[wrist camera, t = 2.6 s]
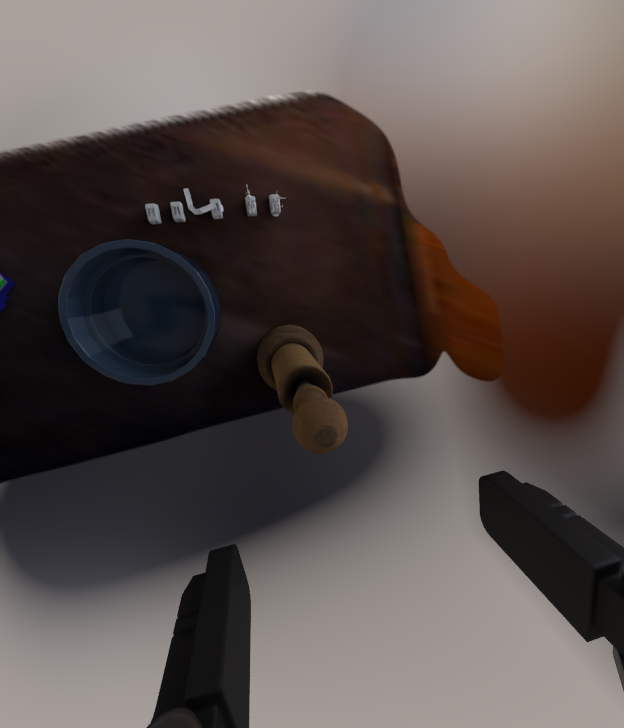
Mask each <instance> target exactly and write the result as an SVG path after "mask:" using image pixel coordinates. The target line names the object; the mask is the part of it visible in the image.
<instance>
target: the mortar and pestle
mask: <svg viewBox="0 0 624 728" xmlns="http://www.w3.org/2000/svg"><path fill="white" fill-rule="evenodd" d="M257 361H258V368H259V371H260V374H261V376H262V378H263V379H264V381H265V382H266V383H267V384H268V385H269V386H270V387H272V388H273V389H275V390H277V392H278V397H279V400H280V403H281V404H282V406H283V407H284V408H285V409H286V410H287V411H288V412H289V413H291V414H293V415H294V418H293V424H292V427H293V432H294V436H295V438H296V440H297V441H298V442H299V444H300V445H302V447H303V448H305V449H306V450H308V451H311V452H313V453H320V454H321V453H328V452H330V451H333V450H334V449H336V448H337V447H339V446H340V444H341V443H342V442H343V441H344V439H345V437H346V433H347V429H348V421H347V417H346V414H345V412H344V410H343V408H342V407H341V406H340V405H339V404H338V403H337V402H336V401H334V400H332V399H331V397H332V393H333V387H332V383H331V380H330V378H329V377H328V375H327V374H326V373H325V371H324V370H323V369H322V367H323V352H322V348H321V346H320V344H319V342H318V341H317V339H316V338H315V337H314V336H313V335H312V334H311V333H310V332H309V331H307V330H306V329H304V328H302V327H299V326H296V325H283V326H279V327H277V328H275V329H273V330H271V331H270V332H269V333H268V334H267V335H266V336H265V337H264V338H263V339H262V341H261V343H260V345H259V348H258V353H257Z"/></svg>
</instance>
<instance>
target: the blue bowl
mask: <svg viewBox="0 0 624 728" xmlns="http://www.w3.org/2000/svg"><path fill="white" fill-rule="evenodd" d="M58 295H59V296H58V307H59V319H60V323H61V325H62V328H63V330H64V333H65V335H66V338H67V340H68V342H69V344H70V345H71V346H72V347H73V349H74V350H75V351H76V352H77V354H78V355H79V356H80V357H81V358H82V360H83V361H84V362H85V363H87V364H88V365H90V366H91V367H92V368H94V369H95V370H97V371H98V372H100V373H101V374H102V375H105V376H106V377H109V378H112V379H115V380H118V381H120V382H123V383H126V384H136V385H156V384H161V383H165V382H170V381H173V380H175V379H177V378H179V377H181V376H182V375H184V374H186V373H188V372H189V371H191V370H192V369H193V368H194V367H195V366H196V365H197V364H198V363H199V362H200V361H201V359H202V358H203V357H204V356H205V355H206V353H207V352H208V350H209V349H210V347H211V346H212V344H213V342H214V340H215V338H216V335H217V333H218V331H219V328H220V320H221V306H220V302H219V298H218V294H217V290H216V288H215V286H214V285H213V283H212V282H211V280H210V278H209V277H208V275H207V273H206V272H205V271H204V270H203V269H202V268H201V267H199V266H198V265H197V264H196V263H195V262H194V261H193V260H192V259H190V258H189V257H187V256H185V255H183V254H181V253H178V252H176V251H174V250H172V249H170V248H167V247H164V246H162V245H159V244H156V243H153V242H147V241H140V240H134V239H123V240H117V241H111V242H104V243H101V244H100V245H98V246H96V247H94V248H92V249H90V250H89V251H87V252H85V253H83V254H82V255H80V256H79V258H78V259H77V260H76V261H75V262H74V264H73V265H72V266H71V267H70V268H69V269H68V271H67V272H66V274H65V276H64V279H63V282H62V285H61V288H60V291H59V294H58Z"/></svg>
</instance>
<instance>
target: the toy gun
mask: <svg viewBox="0 0 624 728" xmlns="http://www.w3.org/2000/svg"><path fill="white" fill-rule="evenodd" d="M14 285H15V283H14V282H13V281H12V279H11V278H8V277H5V276H3V275H2V274H1V273H0V312H1V311H2V309H3V308H4V307H5V302H6V301H7V299H8V297H7V296H6V295H7V294H8V292H9V291H10V290H11V289H12V287H13V286H14ZM0 398H1V396H0Z"/></svg>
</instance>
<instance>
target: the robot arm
mask: <svg viewBox="0 0 624 728" xmlns="http://www.w3.org/2000/svg"><path fill="white" fill-rule="evenodd" d="M479 498H480V499H479V501H480V517H481V521H482V523H483V525H484V528H485V529H486V531H487V533H488V534H489V535H490V536H491V538H492V539H493V540H494V541H495V542H496V543H497V544H498V545H499V546H500V547H501V548H502V550H503V551H504V552H505V553H506V554H507V555H508V556H509V557H510V558H511V559H512V560H513V562H514V563H515V564H516V565H517V566H518V567H519V568H520V569H521V570H522V571H523V572H524V574H525V575H526V576H527V577H528V578H529V579H530V580H531V581H532V582H533V583H534V584H535V586H536V587H537V588H538V589H539V590H540V591H541V592H542V593H543V594H544V595H545V597H546V598H547V599H548V600H549V601H550V602H551V603H552V604H553V605H554V606H555V607H556V608H557V610H558V611H559V612H560V613H561V614H562V615H563V616H564V617H565V618H566V619H567V621H569V623H570V624H571V625H572V626H573V627H574V628H575V629H576V630H577V632H578V633H579V634H580V635H581V636H582V637H583V638H584V639H585V640H586V641H587V642H589V641H592V640H595V639H598V638H600V637H603V636H604V637H605V638H606V639H607V640H608V641H609V642H610V643H611V644H612V645H613V655H614V660H615V663H616V667H617V670H618V673H619V677H620V680H621V683H622V687H623V690H624V548H623V547H622V546H621V545H619V544H618V543H617V542H615V541H614V540H613V539H611V538H610V537H608V536H607V535H606V534H604V533H603V532H602V531H600V530H599V529H597V528H596V527H595V526H593V525H592V524H591V523H589V522H588V521H586V520H585V519H584V518H582V517H581V516H579V515H578V516H577V515H576V513H575V512H574V511H573V510H571V509H570V508H569V507H567V506H566V505H563V504H562V502H560V501H559V500H558V499H556V498H555V497H554V496H552V495H551V494H549V493H548V492H547V491H545V490H542V489H540V488H538V487H536V486H533V485H531V484H529V483H521V482H519V481H518V480H517V479H515V478H514V477H513V476H512V475H510V474H509V473H507V472H505V471H500V472H496V473H493V474H489V475H485V476H482V477H480V479H479ZM177 616H178V618H177V619H176V623H175V627H174V632H173V634H174V636H173V637H172V640H171V644H170V649H169V653H168V657H167V662H166V666H165V670H164V674H163V679H162V683H161V688H160V692H159V696H158V700H157V705H156V709H155V712H154V716H153V718H152V721H151V724H150V725H149V726H148V727H147V728H249V692H250V626H251V600H250V591H249V585H248V581H247V577H246V574H245V571H244V568H243V564H242V561H241V558H240V554H239V551H238V548H237V546H236V544H233V545H229V546H226V547H222V548H219V549H215V550H211V551H210V552H209V556H208V562H207V568H206V573H202V574H199V575H195V576H193V578H192V579H191V581H190V582H189V584H188V586H187V588H186V589H185V591H184V593H183V594H182V597H181V602H180V606H179V610H178V615H177Z"/></svg>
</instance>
